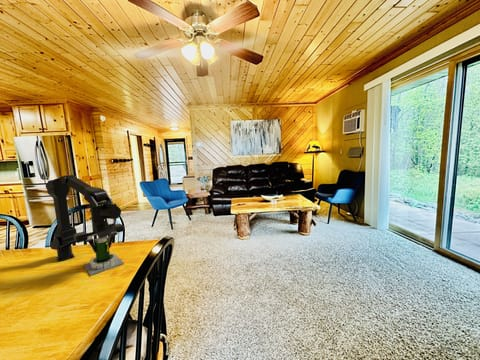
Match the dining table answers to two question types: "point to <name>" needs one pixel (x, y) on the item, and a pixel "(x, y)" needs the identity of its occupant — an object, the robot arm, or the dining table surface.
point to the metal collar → (103, 264)
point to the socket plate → (93, 272)
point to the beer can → (102, 249)
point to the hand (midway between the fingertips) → (102, 250)
